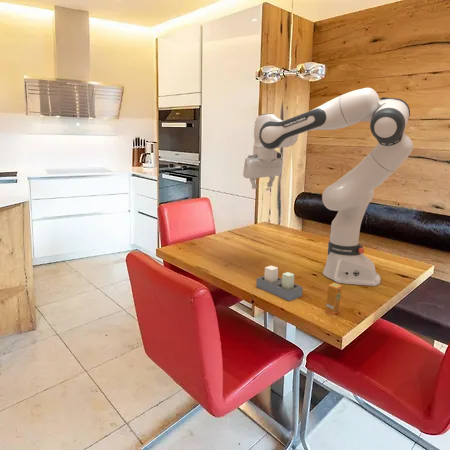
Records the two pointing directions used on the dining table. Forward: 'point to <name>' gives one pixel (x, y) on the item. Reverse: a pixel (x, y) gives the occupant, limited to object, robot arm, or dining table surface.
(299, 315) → the dining table surface
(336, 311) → the supplement box
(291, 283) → the beige peg
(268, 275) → the block
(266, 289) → the grey peg holder
